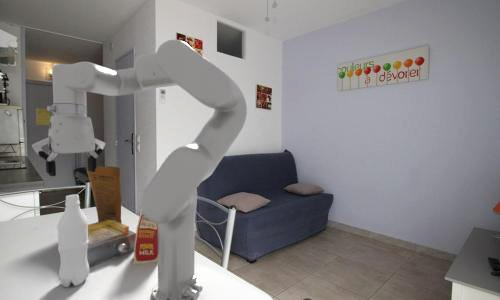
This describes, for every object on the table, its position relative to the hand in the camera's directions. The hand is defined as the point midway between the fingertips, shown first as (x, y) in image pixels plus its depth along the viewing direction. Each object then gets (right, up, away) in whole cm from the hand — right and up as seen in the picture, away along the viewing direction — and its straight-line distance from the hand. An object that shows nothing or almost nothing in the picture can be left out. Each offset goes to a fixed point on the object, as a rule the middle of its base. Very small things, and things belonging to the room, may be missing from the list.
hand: (72, 173), depth 73 cm
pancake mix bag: (-13, -28, +41) cm, 51 cm away
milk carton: (+15, -31, +18) cm, 38 cm away
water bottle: (-1, -31, +2) cm, 31 cm away
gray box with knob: (-2, -30, +19) cm, 35 cm away
